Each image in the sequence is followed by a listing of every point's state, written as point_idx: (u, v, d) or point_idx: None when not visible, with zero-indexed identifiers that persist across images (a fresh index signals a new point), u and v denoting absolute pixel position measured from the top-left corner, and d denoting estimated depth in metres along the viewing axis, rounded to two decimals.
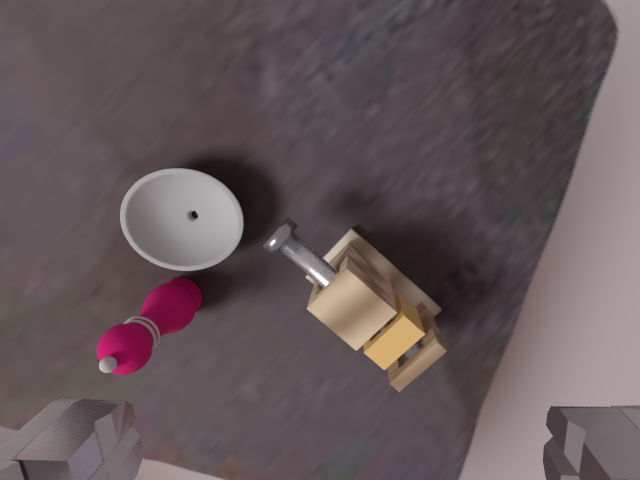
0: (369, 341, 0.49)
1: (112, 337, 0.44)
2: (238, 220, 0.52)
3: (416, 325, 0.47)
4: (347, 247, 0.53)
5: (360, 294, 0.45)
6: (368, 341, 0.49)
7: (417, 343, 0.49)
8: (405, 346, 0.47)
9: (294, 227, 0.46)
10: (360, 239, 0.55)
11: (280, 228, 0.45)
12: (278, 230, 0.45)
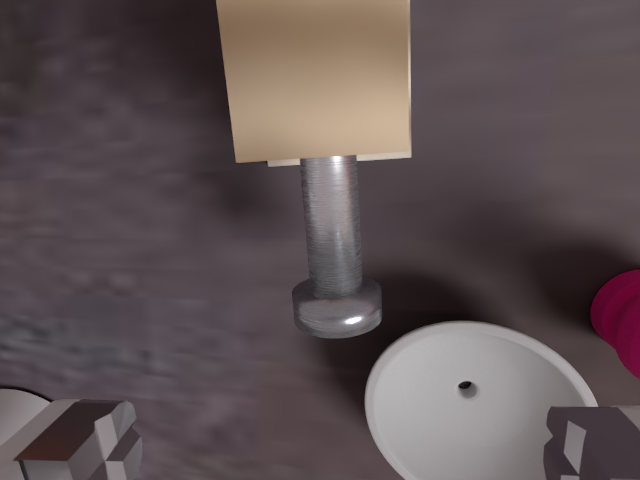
0: None
1: None
2: (398, 351, 0.26)
3: None
4: None
5: (256, 72, 0.15)
6: None
7: None
8: None
9: (293, 299, 0.20)
10: None
11: (308, 330, 0.19)
12: (313, 332, 0.19)
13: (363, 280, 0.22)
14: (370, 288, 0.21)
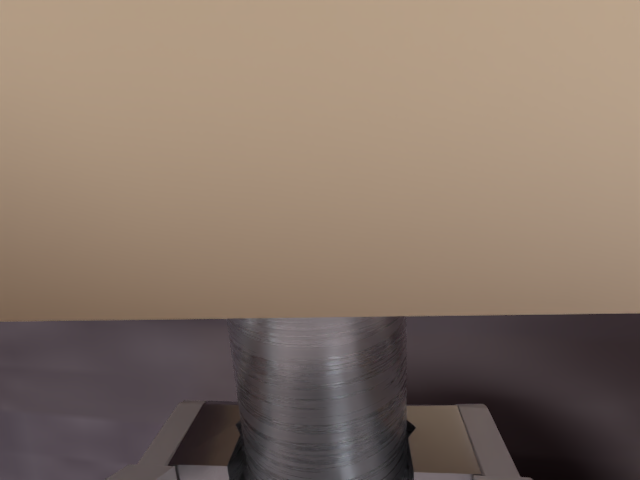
0: None
1: None
2: None
3: None
4: None
5: None
6: None
7: None
8: None
9: None
10: None
11: None
12: None
13: None
14: None
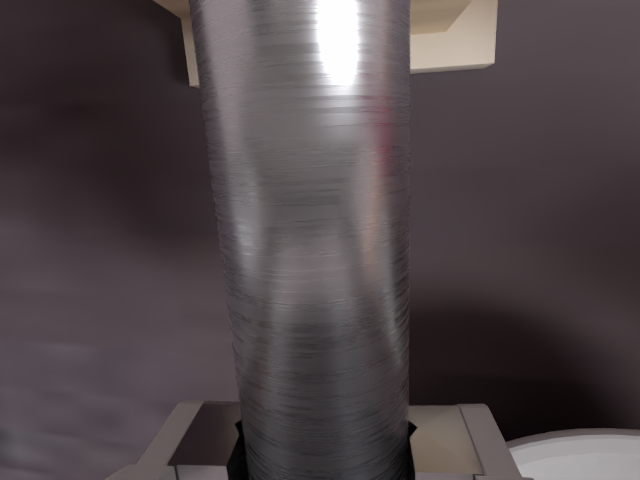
0: None
1: None
2: None
3: None
4: None
5: None
6: None
7: None
8: None
9: None
10: None
11: None
12: None
13: None
14: None
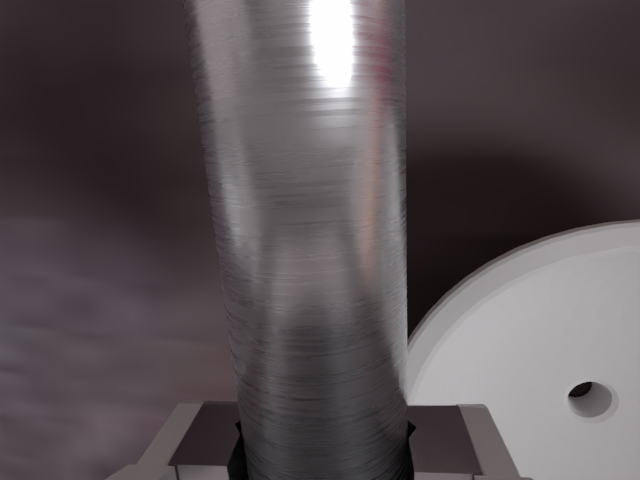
0: None
1: None
2: (474, 305, 0.10)
3: None
4: None
5: None
6: None
7: None
8: None
9: None
10: None
11: None
12: None
13: None
14: None
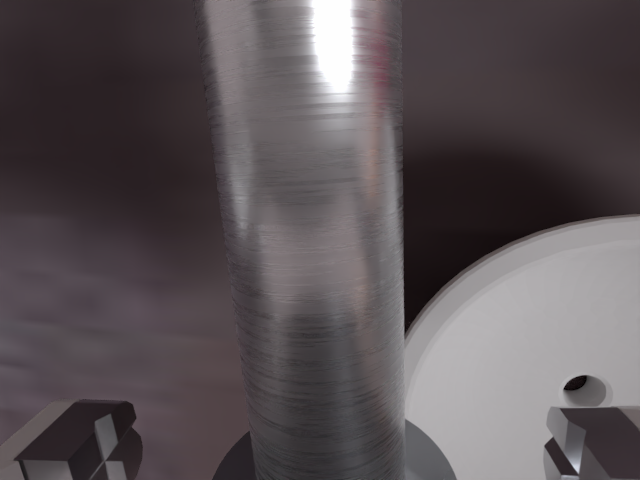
0: None
1: None
2: (470, 298, 0.10)
3: None
4: None
5: None
6: None
7: None
8: None
9: None
10: None
11: None
12: None
13: None
14: None
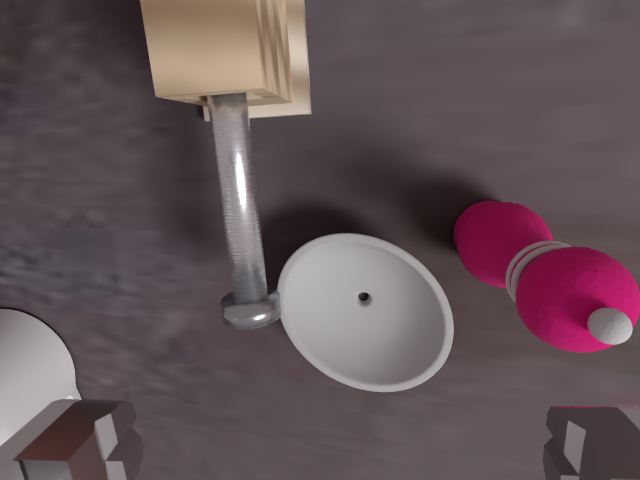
0: None
1: (554, 340, 0.21)
2: (299, 258, 0.35)
3: None
4: None
5: (165, 36, 0.24)
6: None
7: None
8: None
9: (221, 304, 0.31)
10: None
11: (228, 324, 0.30)
12: (231, 326, 0.30)
13: (271, 291, 0.33)
14: (272, 297, 0.31)
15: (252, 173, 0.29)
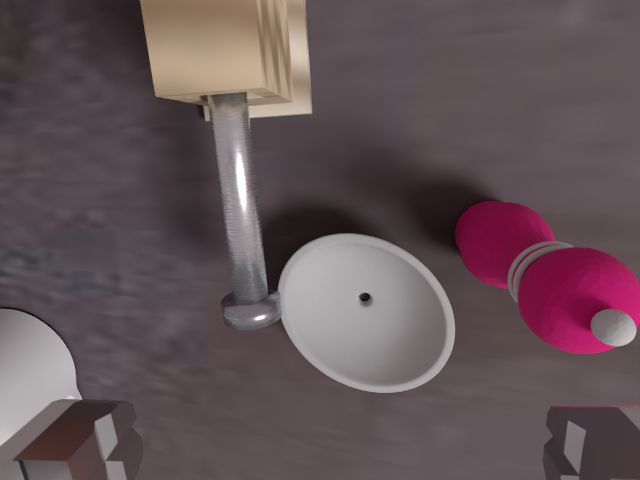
0: None
1: (556, 342, 0.21)
2: (300, 258, 0.34)
3: None
4: None
5: (165, 36, 0.23)
6: None
7: None
8: None
9: (221, 305, 0.31)
10: None
11: (229, 325, 0.30)
12: (232, 326, 0.30)
13: (271, 292, 0.32)
14: (273, 298, 0.31)
15: (252, 173, 0.28)
